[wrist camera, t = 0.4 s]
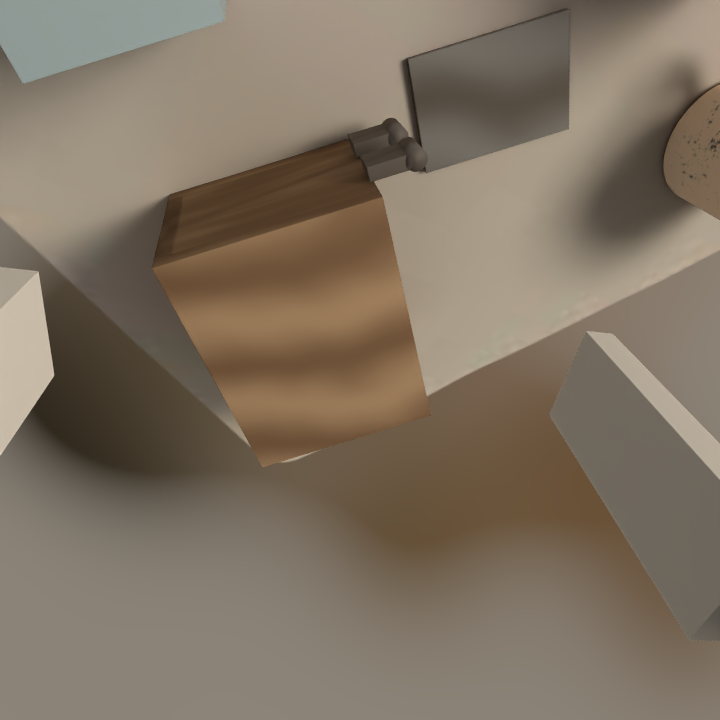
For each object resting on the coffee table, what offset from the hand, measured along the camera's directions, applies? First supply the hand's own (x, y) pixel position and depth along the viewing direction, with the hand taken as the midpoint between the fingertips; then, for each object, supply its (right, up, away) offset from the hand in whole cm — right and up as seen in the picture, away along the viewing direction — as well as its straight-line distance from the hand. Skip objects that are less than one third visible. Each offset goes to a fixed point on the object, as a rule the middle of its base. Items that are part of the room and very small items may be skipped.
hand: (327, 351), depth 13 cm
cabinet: (+3, +10, +25) cm, 27 cm away
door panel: (-11, +20, +14) cm, 27 cm away
